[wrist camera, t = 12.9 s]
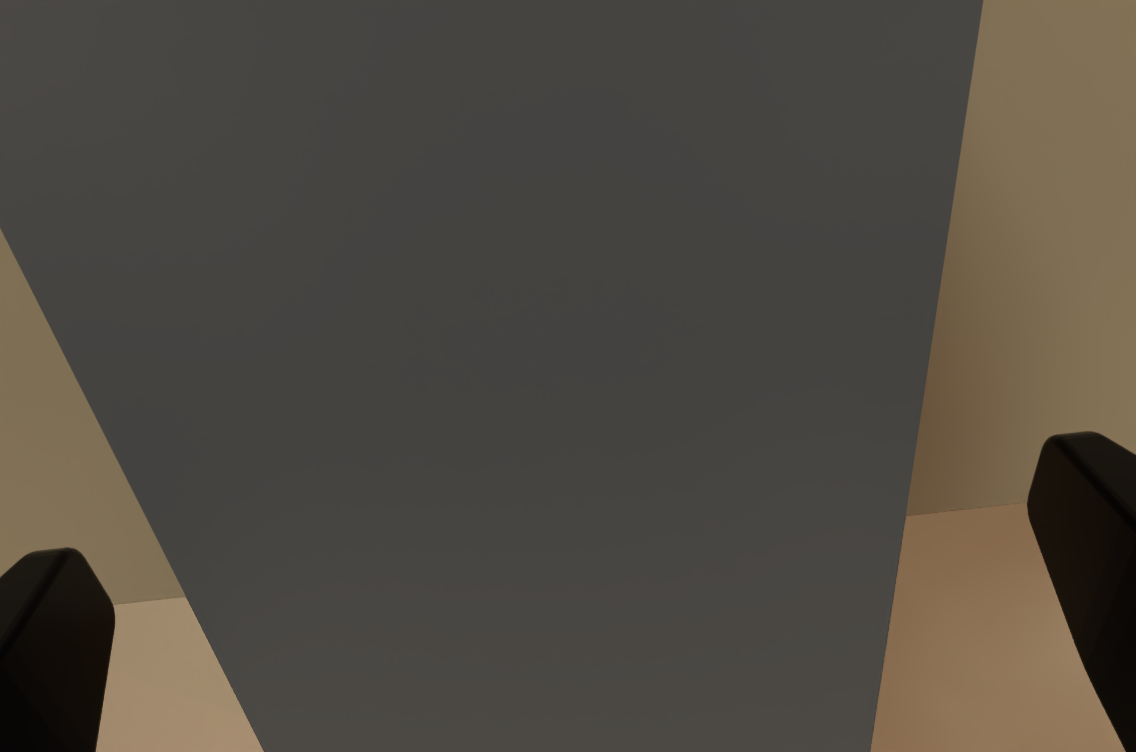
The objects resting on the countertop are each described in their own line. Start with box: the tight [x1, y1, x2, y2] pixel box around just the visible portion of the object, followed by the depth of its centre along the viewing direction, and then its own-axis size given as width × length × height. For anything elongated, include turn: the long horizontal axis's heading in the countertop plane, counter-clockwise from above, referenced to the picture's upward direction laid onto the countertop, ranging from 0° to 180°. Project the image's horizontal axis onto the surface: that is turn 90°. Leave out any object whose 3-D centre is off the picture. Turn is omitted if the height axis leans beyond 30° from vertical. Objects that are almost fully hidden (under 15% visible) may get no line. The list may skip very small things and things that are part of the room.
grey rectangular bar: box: [0, 0, 983, 752], centre depth 9 cm, size 12×4×4 cm, turn 6°
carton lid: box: [0, 0, 1136, 605], centre depth 9 cm, size 10×14×1 cm
